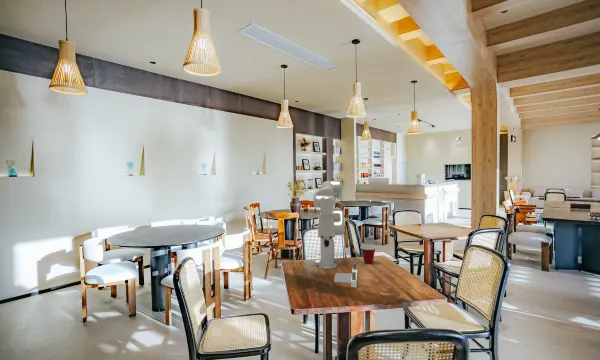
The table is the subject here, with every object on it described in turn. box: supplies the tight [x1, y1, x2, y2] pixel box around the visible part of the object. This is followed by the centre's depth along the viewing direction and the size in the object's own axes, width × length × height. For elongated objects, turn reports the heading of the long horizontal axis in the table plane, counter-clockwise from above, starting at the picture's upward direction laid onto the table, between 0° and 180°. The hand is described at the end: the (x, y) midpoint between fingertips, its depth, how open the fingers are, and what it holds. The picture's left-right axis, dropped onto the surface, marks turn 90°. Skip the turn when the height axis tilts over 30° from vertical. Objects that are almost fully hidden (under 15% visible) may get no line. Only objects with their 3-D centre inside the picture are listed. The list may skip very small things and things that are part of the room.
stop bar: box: [350, 262, 358, 288], centre depth 192 cm, size 3×26×8 cm, turn 169°
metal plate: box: [333, 272, 352, 284], centre depth 193 cm, size 10×10×3 cm
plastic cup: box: [360, 244, 377, 265], centre depth 230 cm, size 11×11×12 cm
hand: (326, 246), depth 196 cm, fingers closed
